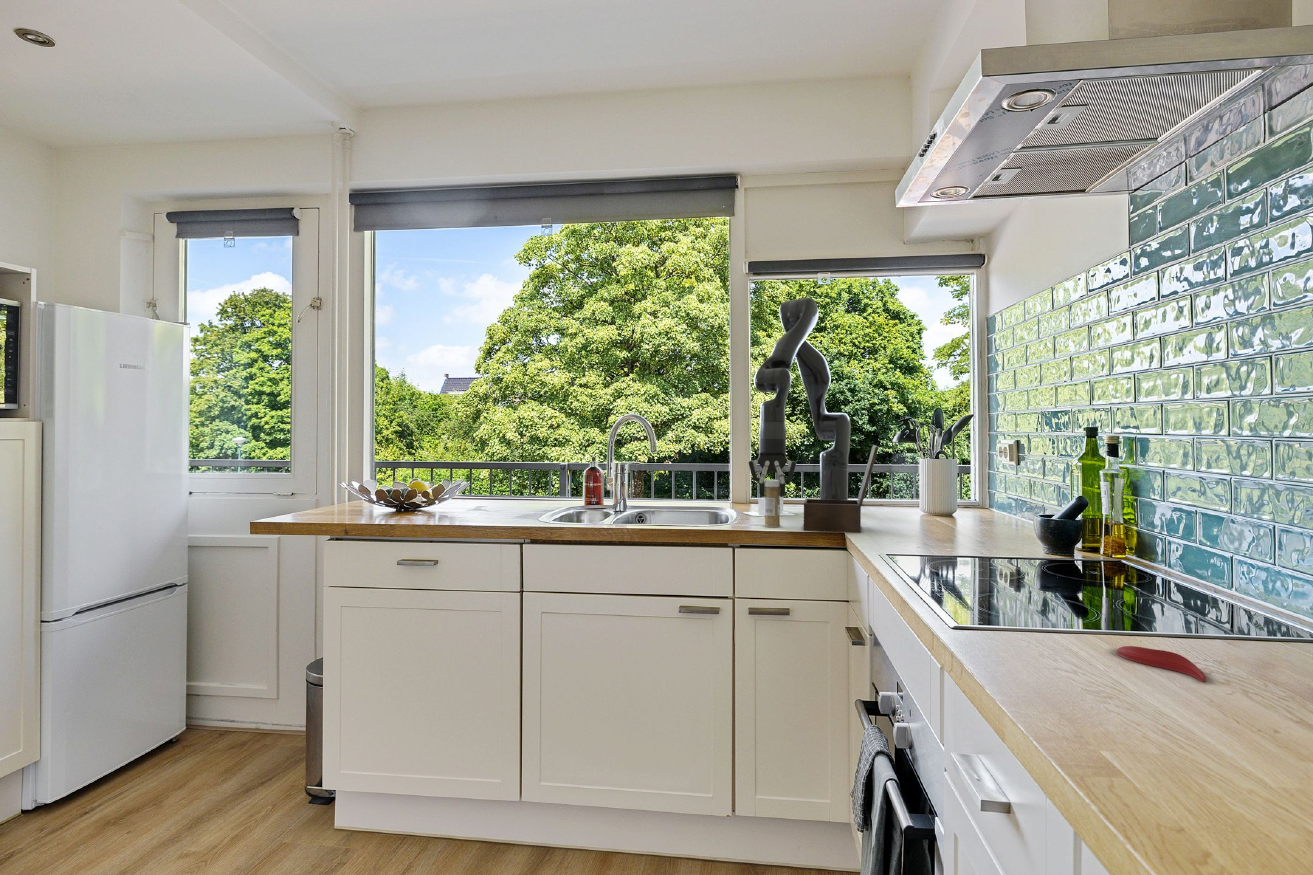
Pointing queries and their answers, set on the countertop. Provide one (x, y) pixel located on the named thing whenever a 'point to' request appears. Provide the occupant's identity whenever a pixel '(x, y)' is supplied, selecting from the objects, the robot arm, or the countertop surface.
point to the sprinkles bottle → (772, 503)
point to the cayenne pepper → (1161, 660)
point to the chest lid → (867, 473)
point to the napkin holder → (762, 508)
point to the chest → (832, 515)
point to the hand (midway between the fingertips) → (772, 496)
